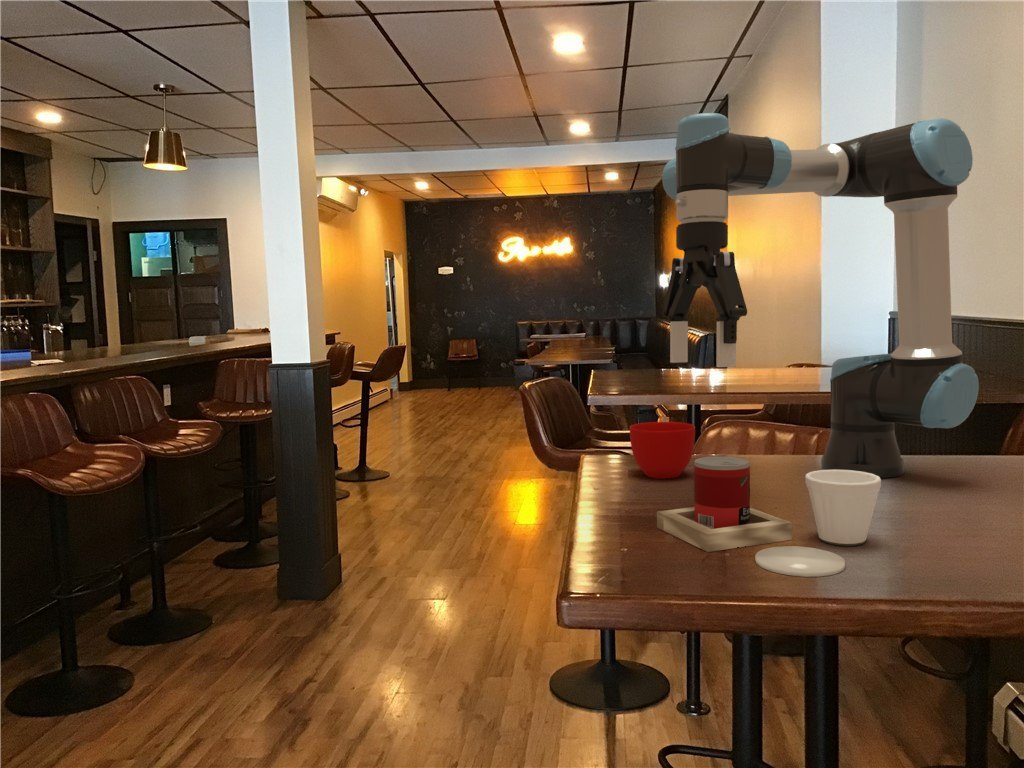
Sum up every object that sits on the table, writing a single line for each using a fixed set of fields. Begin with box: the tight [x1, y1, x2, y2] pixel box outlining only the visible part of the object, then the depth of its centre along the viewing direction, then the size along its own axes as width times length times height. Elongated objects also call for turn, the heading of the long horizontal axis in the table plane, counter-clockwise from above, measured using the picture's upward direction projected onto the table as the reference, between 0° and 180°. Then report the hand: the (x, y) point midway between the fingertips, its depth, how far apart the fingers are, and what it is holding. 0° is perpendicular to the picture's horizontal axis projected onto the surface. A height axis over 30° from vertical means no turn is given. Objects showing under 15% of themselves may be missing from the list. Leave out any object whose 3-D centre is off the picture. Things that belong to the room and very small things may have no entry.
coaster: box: [754, 545, 846, 578], centre depth 105 cm, size 11×11×1 cm
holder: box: [656, 506, 793, 553], centre depth 120 cm, size 14×14×2 cm
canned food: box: [693, 455, 751, 529], centre depth 120 cm, size 8×8×11 cm
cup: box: [804, 469, 882, 547], centre depth 114 cm, size 10×10×9 cm
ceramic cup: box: [629, 421, 696, 480], centre depth 164 cm, size 13×17×10 cm
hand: (701, 364), depth 122 cm, fingers open, 13 cm apart
